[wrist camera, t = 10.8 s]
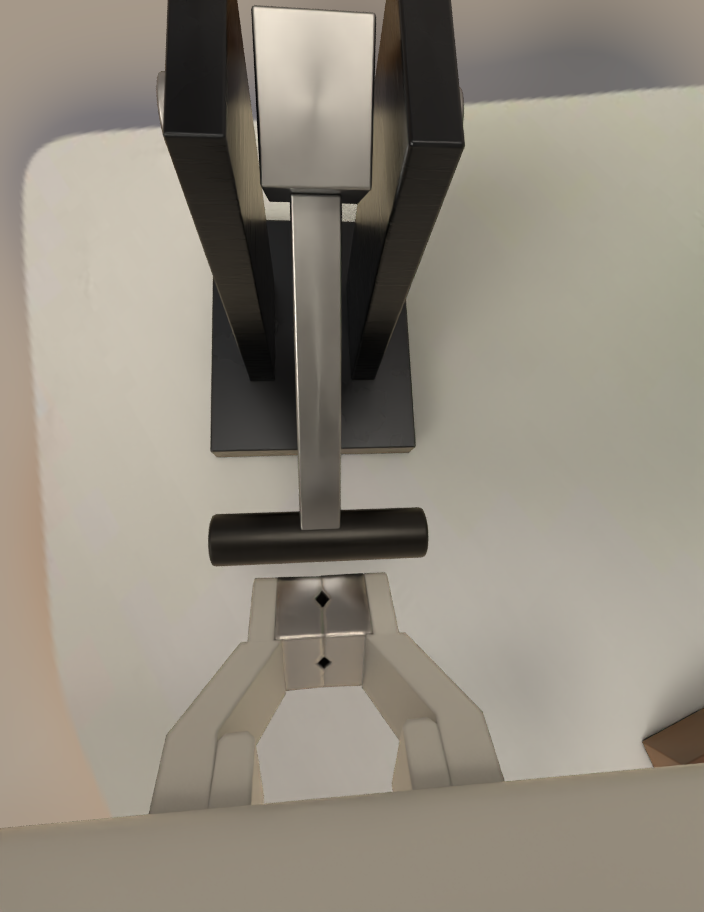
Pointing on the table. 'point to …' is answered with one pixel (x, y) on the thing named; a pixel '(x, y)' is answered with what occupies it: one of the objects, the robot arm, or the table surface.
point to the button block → (678, 743)
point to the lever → (316, 277)
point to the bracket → (269, 241)
